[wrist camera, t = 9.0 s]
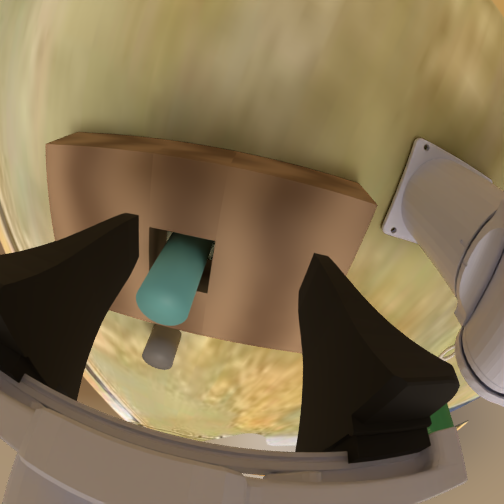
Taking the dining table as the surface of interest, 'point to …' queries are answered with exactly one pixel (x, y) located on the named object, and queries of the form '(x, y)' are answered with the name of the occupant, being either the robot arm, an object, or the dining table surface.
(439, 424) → the beverage can
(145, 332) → the dining table surface
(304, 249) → the walnut hole block
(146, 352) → the charcoal stub
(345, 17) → the dining table surface
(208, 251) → the teal pin
